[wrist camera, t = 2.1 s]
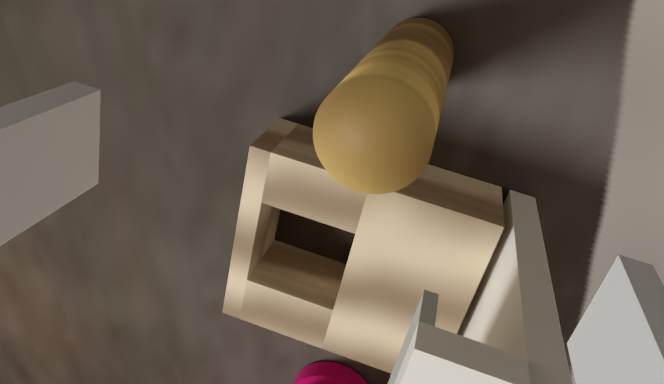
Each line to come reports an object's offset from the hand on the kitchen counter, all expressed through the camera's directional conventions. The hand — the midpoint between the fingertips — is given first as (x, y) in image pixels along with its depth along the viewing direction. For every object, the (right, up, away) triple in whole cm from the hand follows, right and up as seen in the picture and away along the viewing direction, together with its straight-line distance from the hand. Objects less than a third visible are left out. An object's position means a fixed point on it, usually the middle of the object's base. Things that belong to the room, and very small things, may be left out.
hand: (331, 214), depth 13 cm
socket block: (+2, -2, +22) cm, 22 cm away
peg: (+5, +8, +17) cm, 19 cm away
